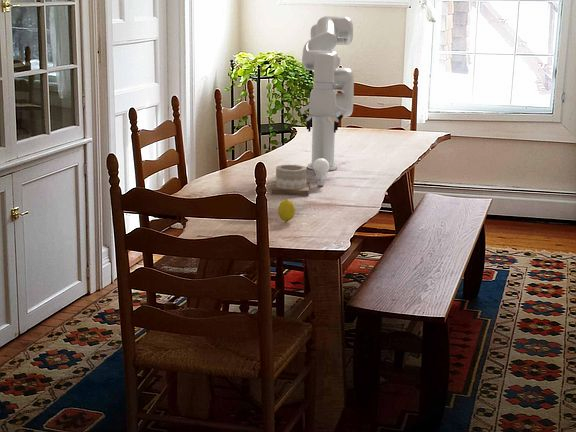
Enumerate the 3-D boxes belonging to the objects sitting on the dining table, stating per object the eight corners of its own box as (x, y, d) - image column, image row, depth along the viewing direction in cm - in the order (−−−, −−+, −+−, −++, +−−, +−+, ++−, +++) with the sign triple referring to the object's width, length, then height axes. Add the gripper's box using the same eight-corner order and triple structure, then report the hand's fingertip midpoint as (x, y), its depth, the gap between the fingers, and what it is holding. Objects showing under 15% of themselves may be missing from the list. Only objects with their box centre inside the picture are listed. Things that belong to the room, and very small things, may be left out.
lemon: (294, 220, 311) (294, 197, 309) (294, 224, 305) (295, 201, 303) (277, 220, 310) (278, 196, 308) (277, 224, 305) (278, 201, 303)
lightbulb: (315, 188, 357) (315, 160, 354) (310, 184, 363) (311, 156, 360) (330, 187, 358) (331, 159, 356) (325, 184, 364) (326, 156, 361)
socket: (273, 186, 358) (274, 163, 356) (309, 187, 358) (310, 164, 355) (270, 194, 345) (271, 171, 343) (308, 196, 344) (309, 172, 342)
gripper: (346, 85, 350) (344, 130, 354) (300, 84, 351) (299, 129, 355) (346, 88, 343) (344, 134, 347) (299, 86, 343) (298, 132, 348)
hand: (322, 131), depth 351 cm, fingers open, 9 cm apart
